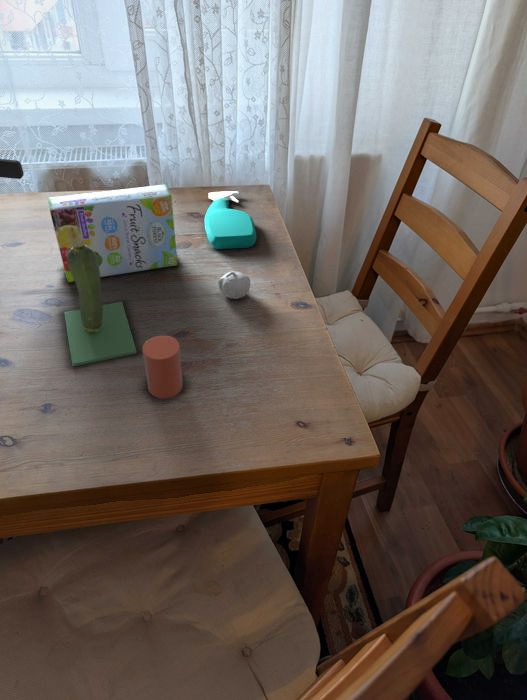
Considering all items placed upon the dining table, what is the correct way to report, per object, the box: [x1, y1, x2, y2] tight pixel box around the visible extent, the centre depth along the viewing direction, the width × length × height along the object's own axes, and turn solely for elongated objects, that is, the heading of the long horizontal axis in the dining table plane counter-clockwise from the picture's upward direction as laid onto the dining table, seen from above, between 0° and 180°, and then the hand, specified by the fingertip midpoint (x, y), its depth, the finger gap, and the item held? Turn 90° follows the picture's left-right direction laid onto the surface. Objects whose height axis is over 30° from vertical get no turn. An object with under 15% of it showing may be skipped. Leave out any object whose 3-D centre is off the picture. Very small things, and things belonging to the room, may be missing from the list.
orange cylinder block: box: [141, 334, 184, 399], centre depth 77 cm, size 5×5×8 cm
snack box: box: [47, 184, 178, 283], centre depth 98 cm, size 21×6×15 cm, turn 110°
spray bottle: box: [204, 190, 257, 250], centre depth 118 cm, size 3×11×24 cm
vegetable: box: [67, 226, 104, 333], centre depth 81 cm, size 4×4×20 cm
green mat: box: [63, 301, 138, 367], centre depth 88 cm, size 14×10×1 cm
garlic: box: [217, 270, 252, 300], centre depth 96 cm, size 6×5×5 cm
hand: (4, 183), depth 64 cm, fingers open, 8 cm apart
